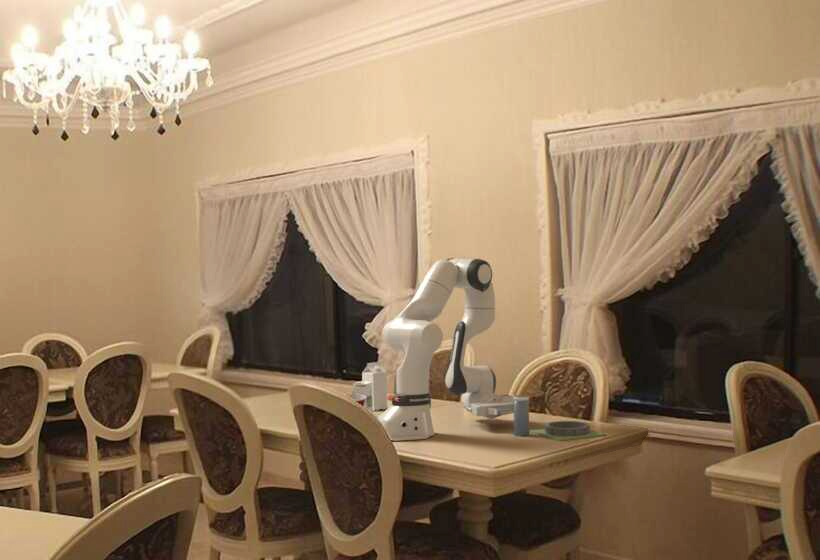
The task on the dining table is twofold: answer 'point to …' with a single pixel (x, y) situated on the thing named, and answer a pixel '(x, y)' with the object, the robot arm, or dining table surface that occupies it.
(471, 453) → the dining table surface
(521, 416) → the ball tube
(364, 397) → the plastic cup
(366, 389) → the syrup box
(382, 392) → the milk carton
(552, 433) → the practice green
